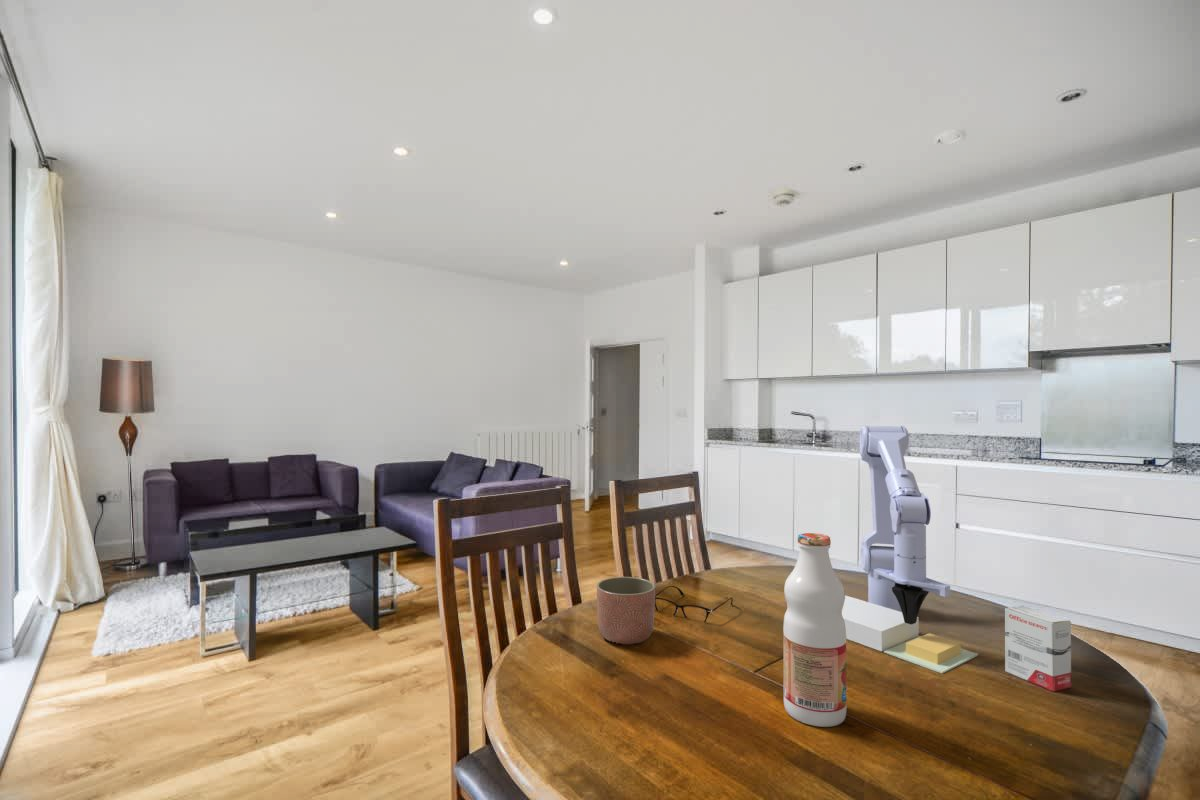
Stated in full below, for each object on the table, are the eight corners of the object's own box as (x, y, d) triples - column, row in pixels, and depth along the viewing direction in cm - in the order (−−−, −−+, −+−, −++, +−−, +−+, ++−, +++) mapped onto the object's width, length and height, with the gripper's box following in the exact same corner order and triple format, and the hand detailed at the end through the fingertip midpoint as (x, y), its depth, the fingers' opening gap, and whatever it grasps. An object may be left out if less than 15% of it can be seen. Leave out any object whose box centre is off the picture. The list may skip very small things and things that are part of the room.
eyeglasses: (647, 612, 138) (647, 595, 138) (678, 595, 151) (678, 579, 151) (712, 627, 129) (712, 609, 129) (738, 607, 142) (738, 591, 142)
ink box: (1072, 687, 100) (1072, 619, 101) (1053, 692, 99) (1053, 622, 99) (1022, 667, 109) (1021, 603, 109) (1003, 671, 107) (1003, 606, 107)
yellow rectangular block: (960, 643, 114) (960, 653, 114) (929, 633, 119) (929, 642, 119) (937, 653, 109) (937, 664, 109) (905, 643, 114) (905, 653, 114)
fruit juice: (772, 701, 96) (772, 531, 96) (823, 694, 98) (822, 528, 98) (804, 732, 87) (804, 544, 87) (859, 724, 89) (859, 541, 89)
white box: (827, 606, 141) (827, 589, 141) (918, 636, 123) (918, 617, 123) (789, 617, 134) (789, 600, 134) (881, 651, 115) (881, 631, 115)
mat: (921, 636, 123) (921, 635, 123) (978, 655, 113) (978, 653, 113) (884, 652, 115) (884, 650, 115) (942, 673, 106) (942, 672, 106)
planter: (587, 643, 119) (587, 590, 119) (609, 622, 130) (609, 574, 131) (645, 653, 114) (645, 597, 114) (662, 630, 126) (662, 580, 126)
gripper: (865, 550, 122) (865, 615, 121) (937, 566, 109) (937, 638, 109) (883, 546, 125) (884, 609, 125) (955, 561, 113) (955, 630, 113)
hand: (910, 622), depth 118 cm, fingers closed
